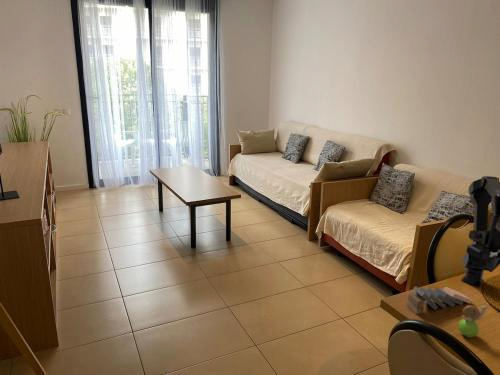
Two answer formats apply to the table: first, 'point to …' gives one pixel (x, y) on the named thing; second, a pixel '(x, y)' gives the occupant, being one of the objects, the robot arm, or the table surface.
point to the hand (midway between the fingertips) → (489, 271)
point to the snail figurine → (471, 320)
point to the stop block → (416, 303)
